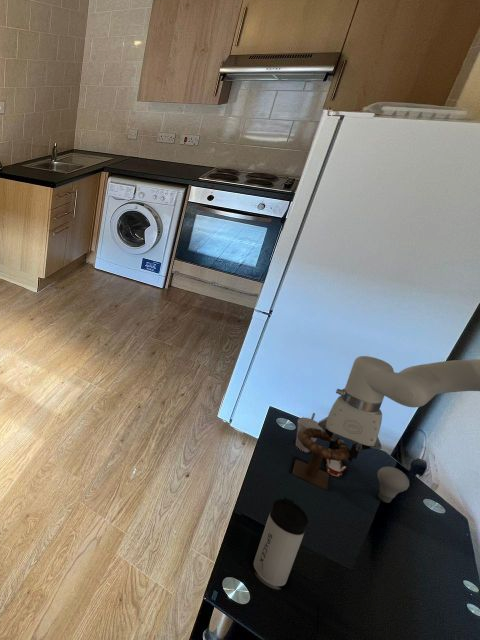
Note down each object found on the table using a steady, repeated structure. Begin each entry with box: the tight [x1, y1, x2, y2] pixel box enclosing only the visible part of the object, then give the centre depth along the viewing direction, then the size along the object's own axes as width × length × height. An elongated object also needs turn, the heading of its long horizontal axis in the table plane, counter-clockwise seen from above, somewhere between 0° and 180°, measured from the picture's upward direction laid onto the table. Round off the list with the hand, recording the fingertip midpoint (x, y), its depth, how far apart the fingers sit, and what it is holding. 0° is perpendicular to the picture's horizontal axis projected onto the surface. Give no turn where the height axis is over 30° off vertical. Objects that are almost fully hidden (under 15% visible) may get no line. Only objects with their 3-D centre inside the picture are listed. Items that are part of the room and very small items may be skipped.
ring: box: [298, 427, 351, 462], centre depth 118 cm, size 12×12×3 cm
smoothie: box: [295, 412, 323, 453], centre depth 130 cm, size 6×6×14 cm
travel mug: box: [253, 497, 309, 591], centre depth 91 cm, size 6×7×20 cm
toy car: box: [324, 458, 348, 478], centre depth 124 cm, size 5×8×3 cm, turn 134°
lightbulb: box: [377, 466, 410, 504], centre depth 112 cm, size 6×6×11 cm
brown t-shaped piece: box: [291, 443, 330, 491], centre depth 120 cm, size 8×8×11 cm
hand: (341, 454), depth 115 cm, fingers closed on ring, 3 cm apart
